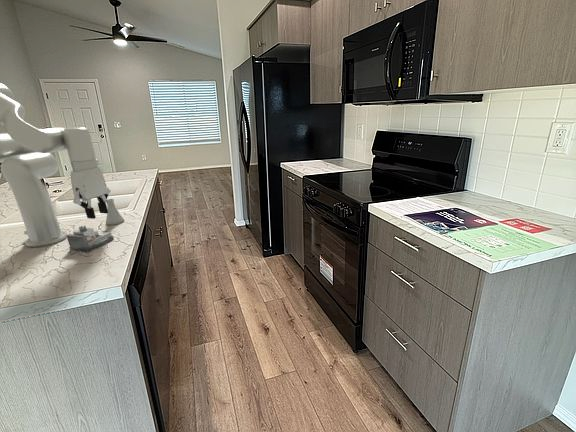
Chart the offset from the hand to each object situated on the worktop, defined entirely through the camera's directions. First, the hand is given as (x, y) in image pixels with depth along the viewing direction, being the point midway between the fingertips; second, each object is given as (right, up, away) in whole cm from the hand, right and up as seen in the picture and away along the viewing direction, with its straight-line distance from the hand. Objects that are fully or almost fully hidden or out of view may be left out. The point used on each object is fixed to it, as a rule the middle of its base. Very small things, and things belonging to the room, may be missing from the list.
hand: (97, 215), depth 112 cm
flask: (-5, -3, +20) cm, 21 cm away
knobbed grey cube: (-1, -10, -4) cm, 11 cm away
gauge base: (-1, -10, -1) cm, 11 cm away
